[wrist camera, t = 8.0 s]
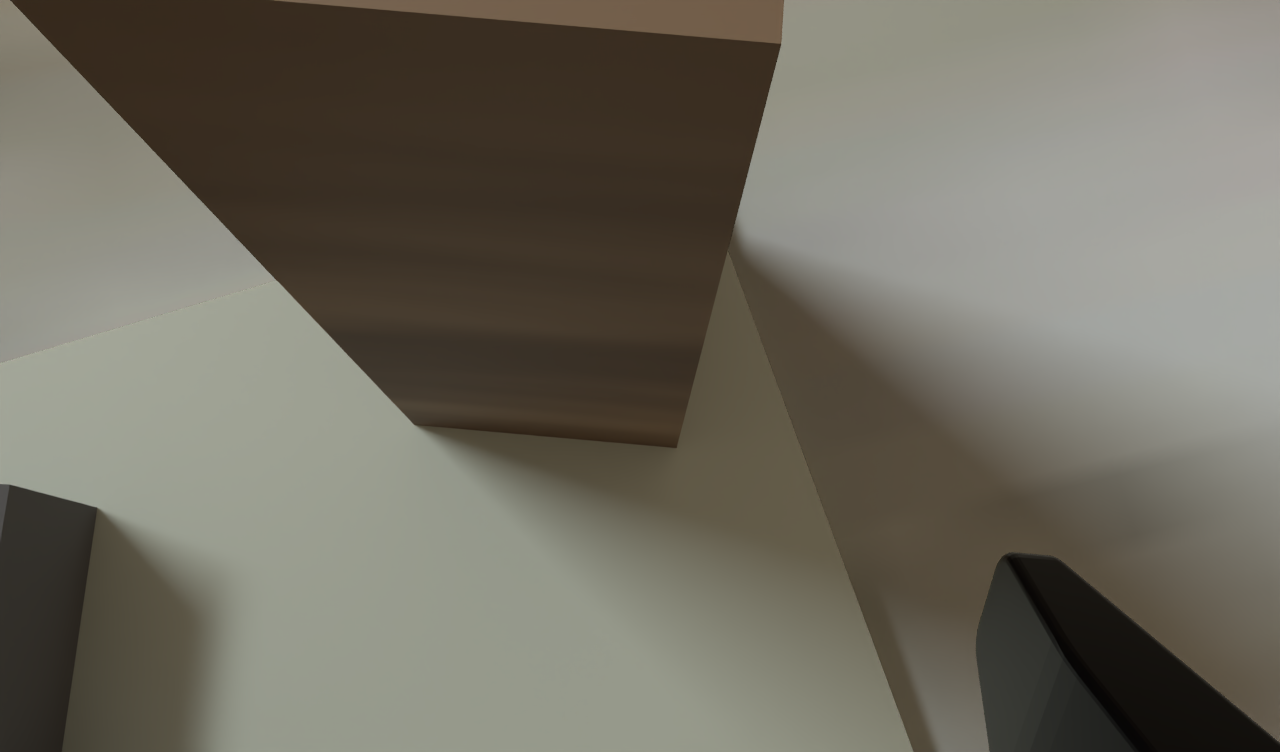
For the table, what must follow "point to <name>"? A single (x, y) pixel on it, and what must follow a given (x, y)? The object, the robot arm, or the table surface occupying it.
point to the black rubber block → (39, 613)
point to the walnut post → (464, 181)
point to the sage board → (432, 557)
